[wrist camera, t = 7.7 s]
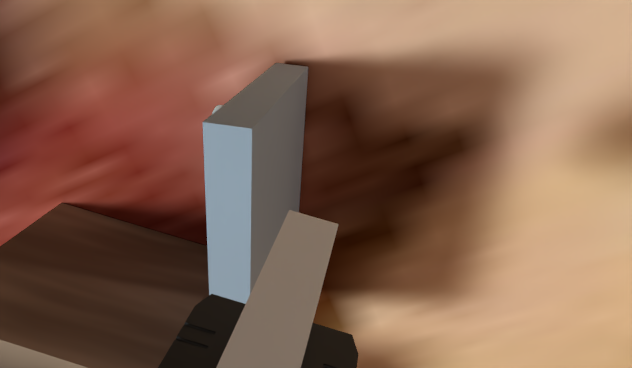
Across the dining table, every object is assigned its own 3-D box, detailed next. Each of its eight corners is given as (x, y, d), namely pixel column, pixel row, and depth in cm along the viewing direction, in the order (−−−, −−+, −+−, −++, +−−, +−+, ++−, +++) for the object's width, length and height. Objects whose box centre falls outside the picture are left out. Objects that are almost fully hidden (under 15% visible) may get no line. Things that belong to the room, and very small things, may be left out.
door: (249, 266, 28) (186, 388, 20) (251, 60, 23) (166, 117, 15) (294, 274, 28) (248, 401, 20) (308, 66, 23) (252, 128, 15)
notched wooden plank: (61, 202, 29) (-113, 327, 20) (293, 271, 28) (231, 438, 19) (62, 229, 30) (-103, 360, 20) (287, 296, 29) (225, 467, 20)
